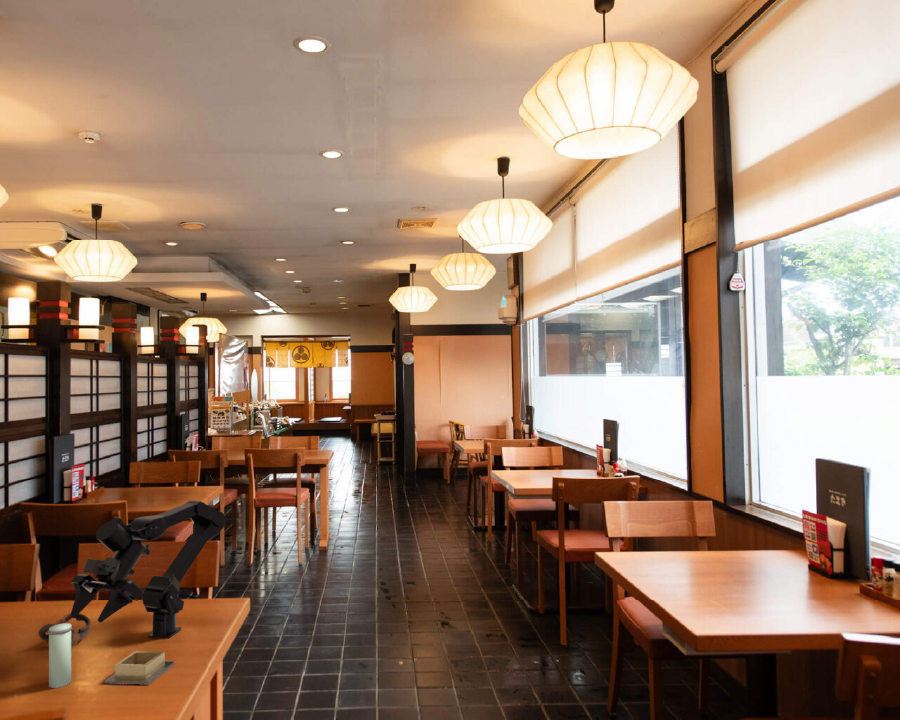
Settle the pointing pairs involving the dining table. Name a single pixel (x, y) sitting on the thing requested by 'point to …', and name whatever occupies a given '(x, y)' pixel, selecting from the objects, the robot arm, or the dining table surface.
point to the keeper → (140, 668)
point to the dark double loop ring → (75, 636)
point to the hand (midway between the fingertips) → (85, 619)
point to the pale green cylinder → (60, 655)
